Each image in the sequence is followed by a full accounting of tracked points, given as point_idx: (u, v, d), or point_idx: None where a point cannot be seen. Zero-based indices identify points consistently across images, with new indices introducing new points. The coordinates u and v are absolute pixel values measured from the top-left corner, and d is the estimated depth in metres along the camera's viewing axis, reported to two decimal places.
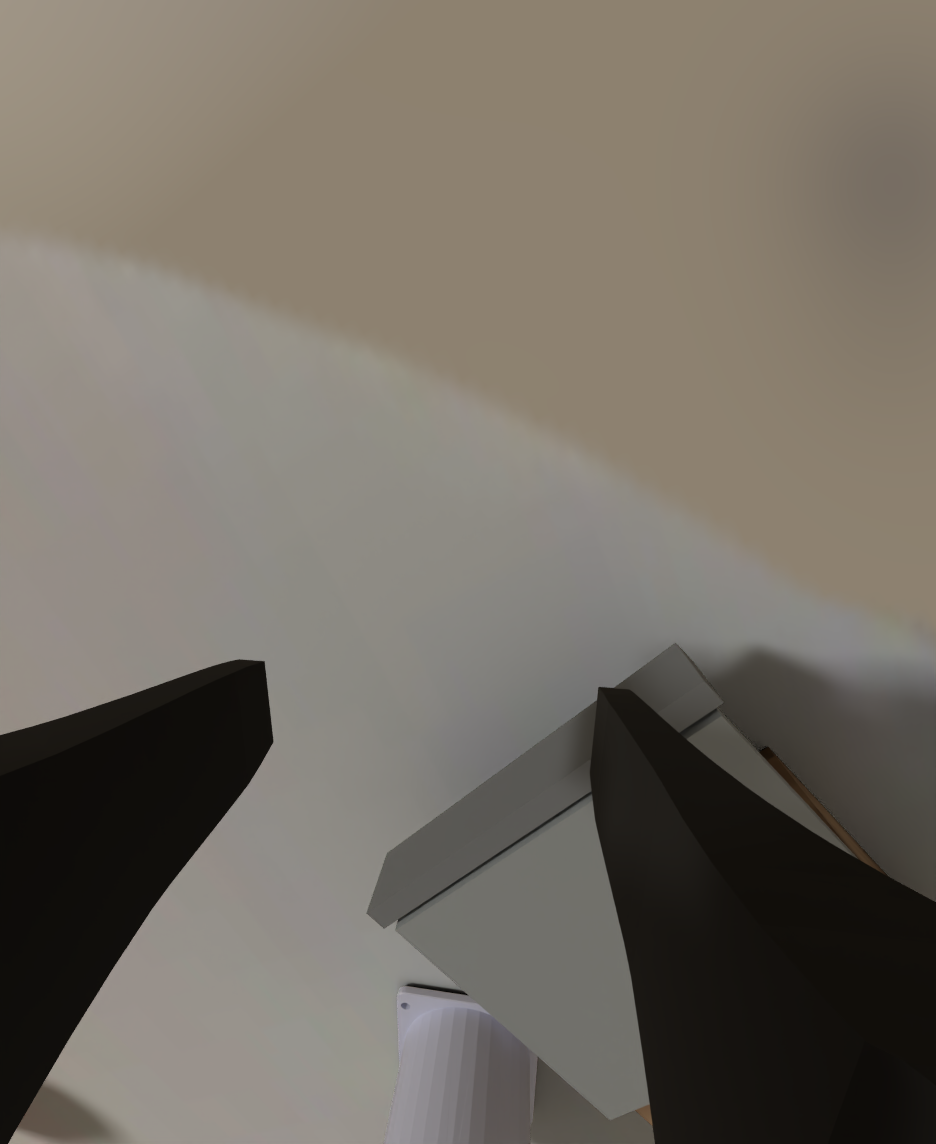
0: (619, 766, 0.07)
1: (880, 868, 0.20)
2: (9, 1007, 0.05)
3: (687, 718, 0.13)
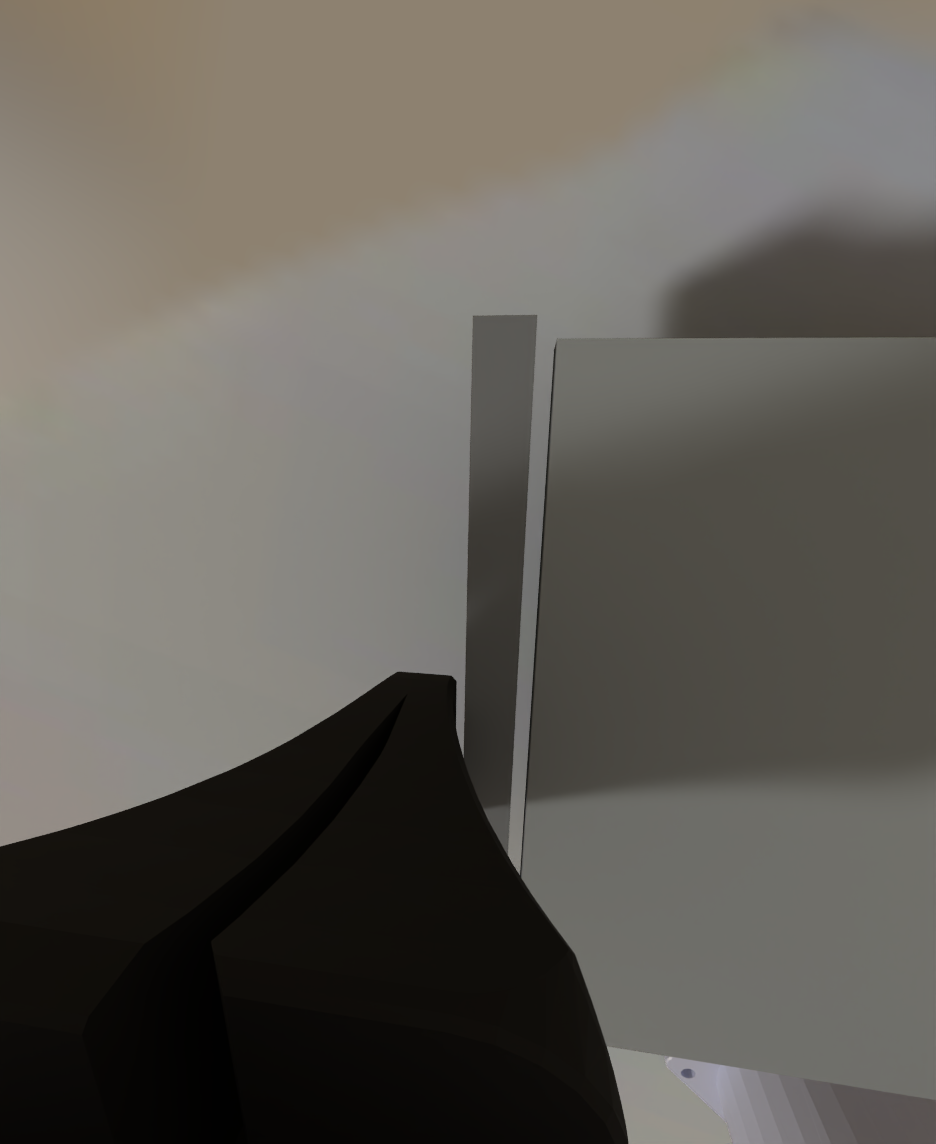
0: None
1: None
2: None
3: (517, 397, 0.07)
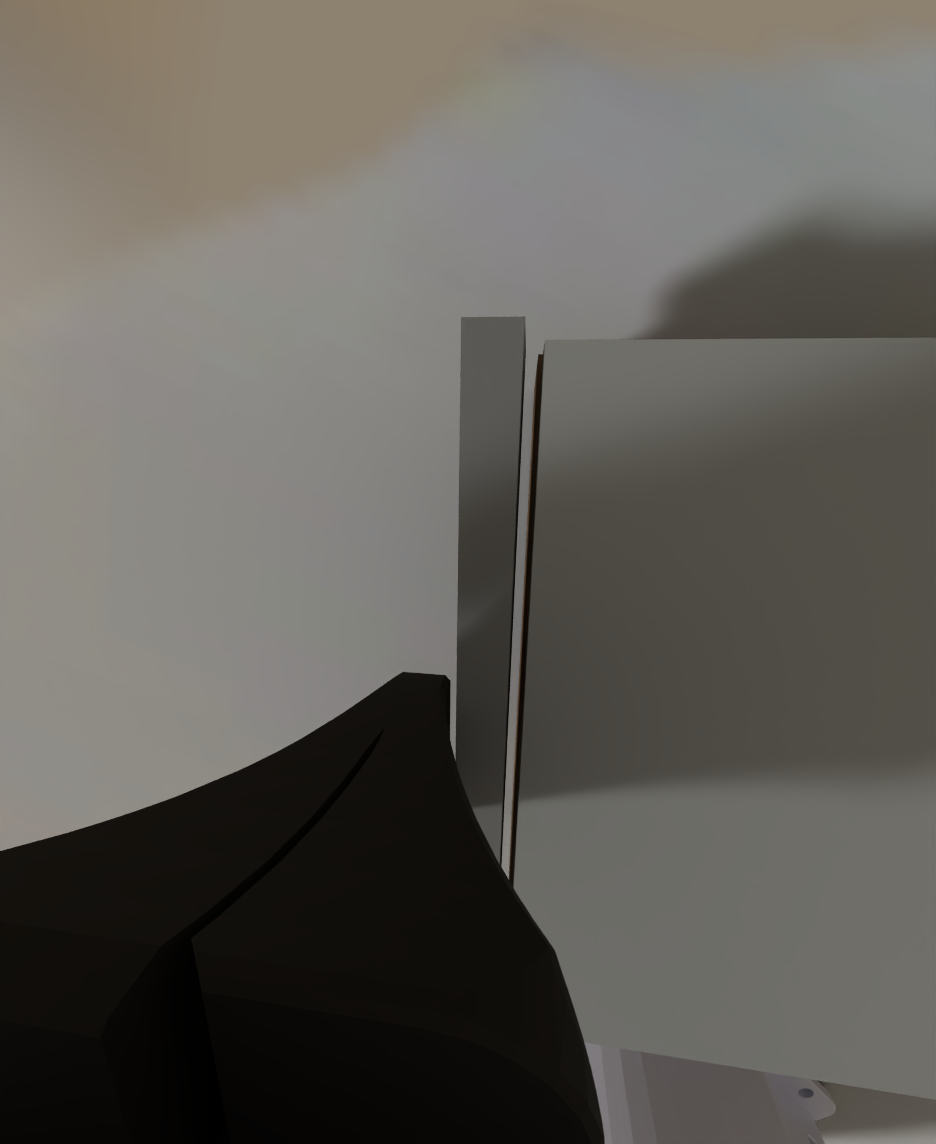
0: None
1: None
2: None
3: (506, 398, 0.07)
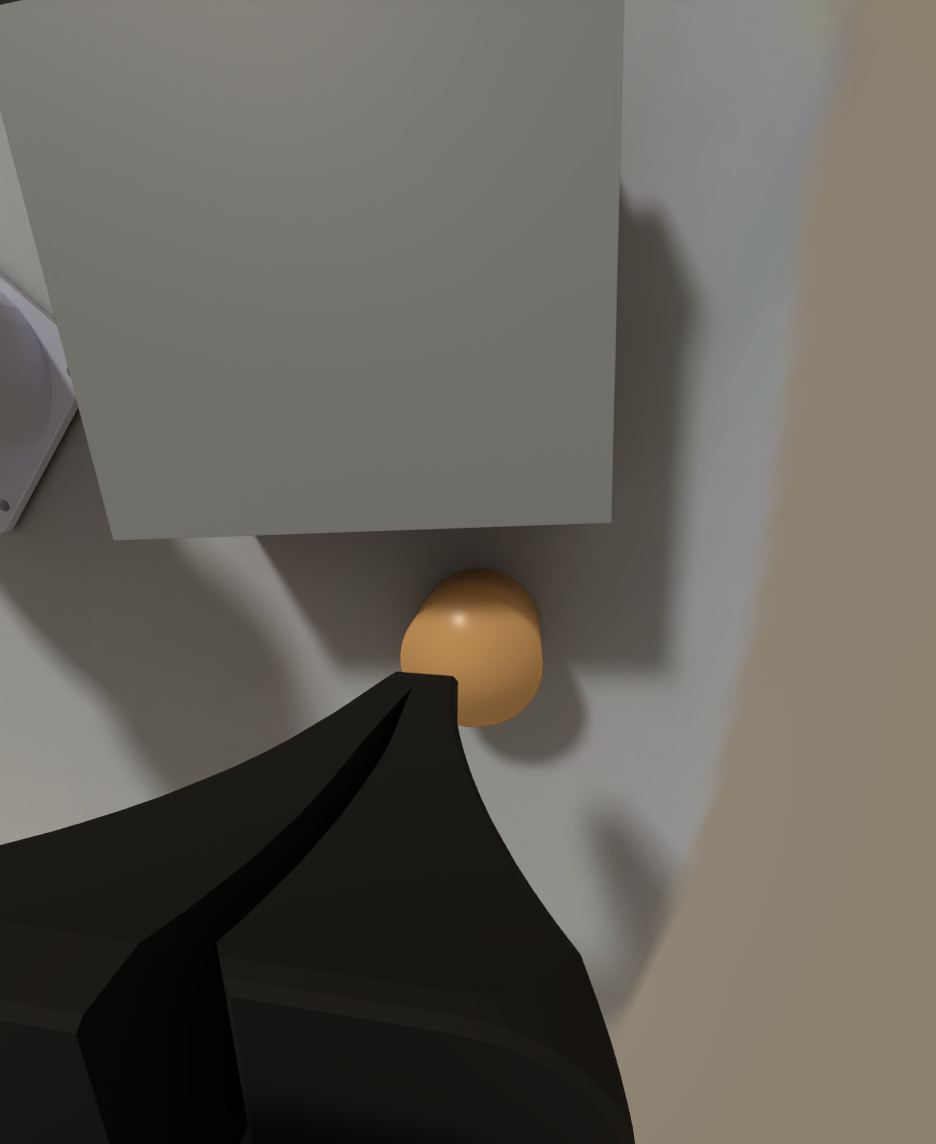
0: None
1: None
2: None
3: None
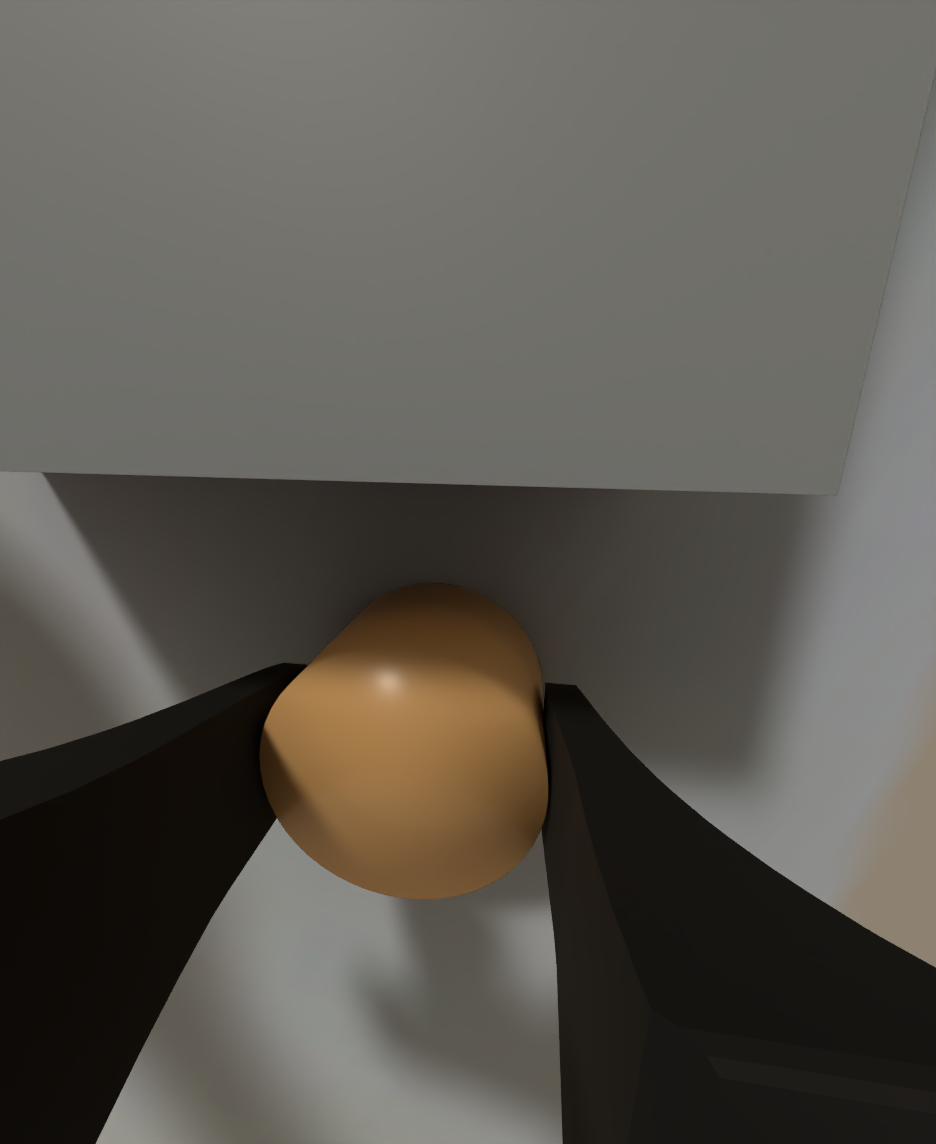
0: (553, 760, 0.08)
1: None
2: (89, 1021, 0.05)
3: None
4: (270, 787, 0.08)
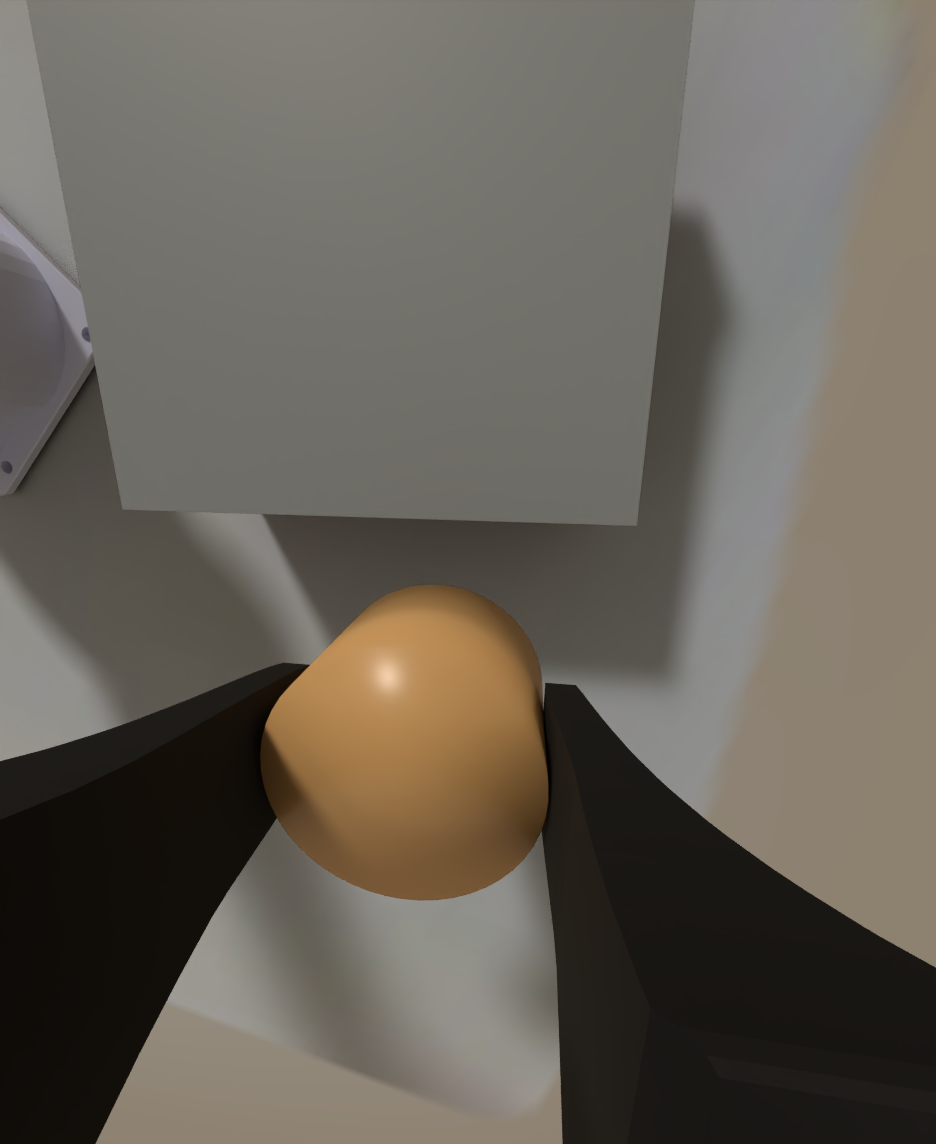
0: (553, 760, 0.08)
1: None
2: (89, 1021, 0.05)
3: None
4: (271, 789, 0.08)
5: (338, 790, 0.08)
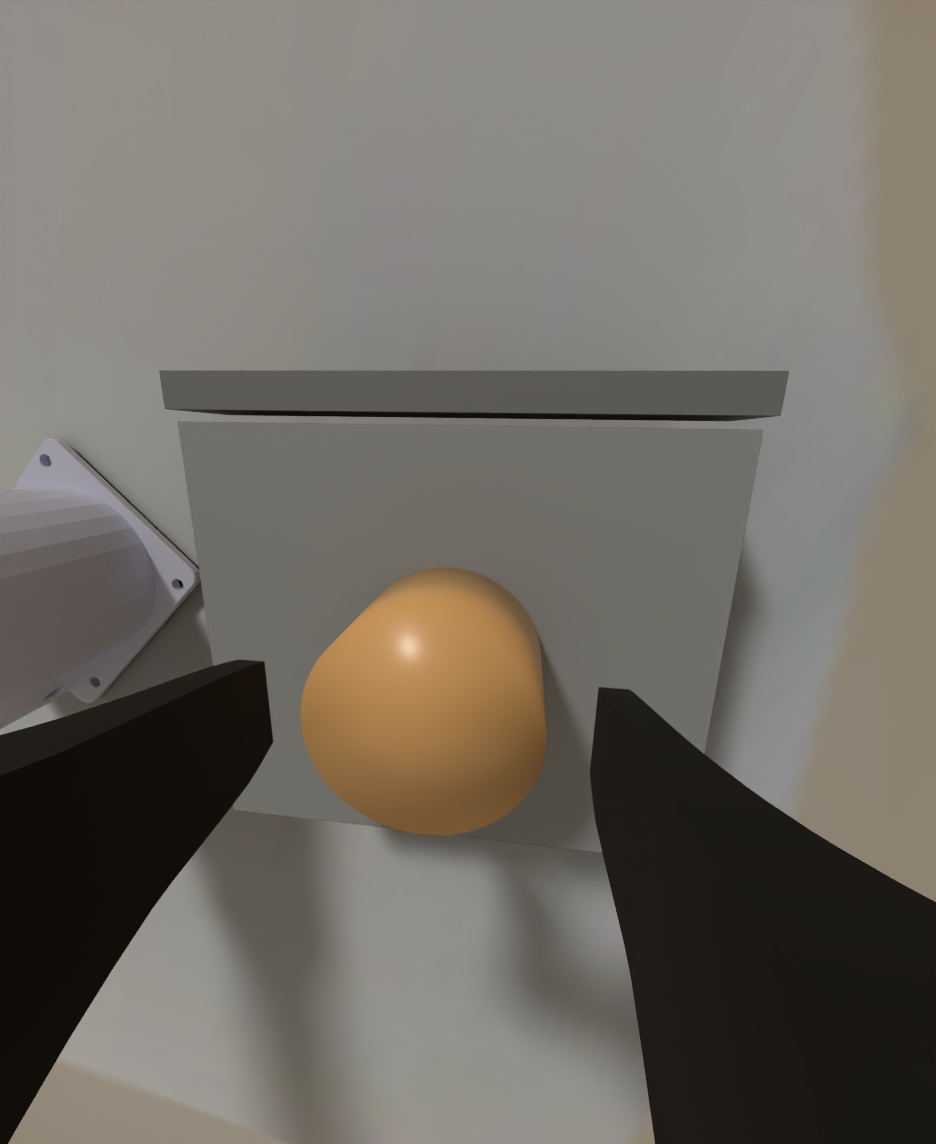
0: (619, 766, 0.07)
1: None
2: (9, 1007, 0.05)
3: (729, 404, 0.10)
4: (309, 740, 0.10)
5: (367, 739, 0.09)
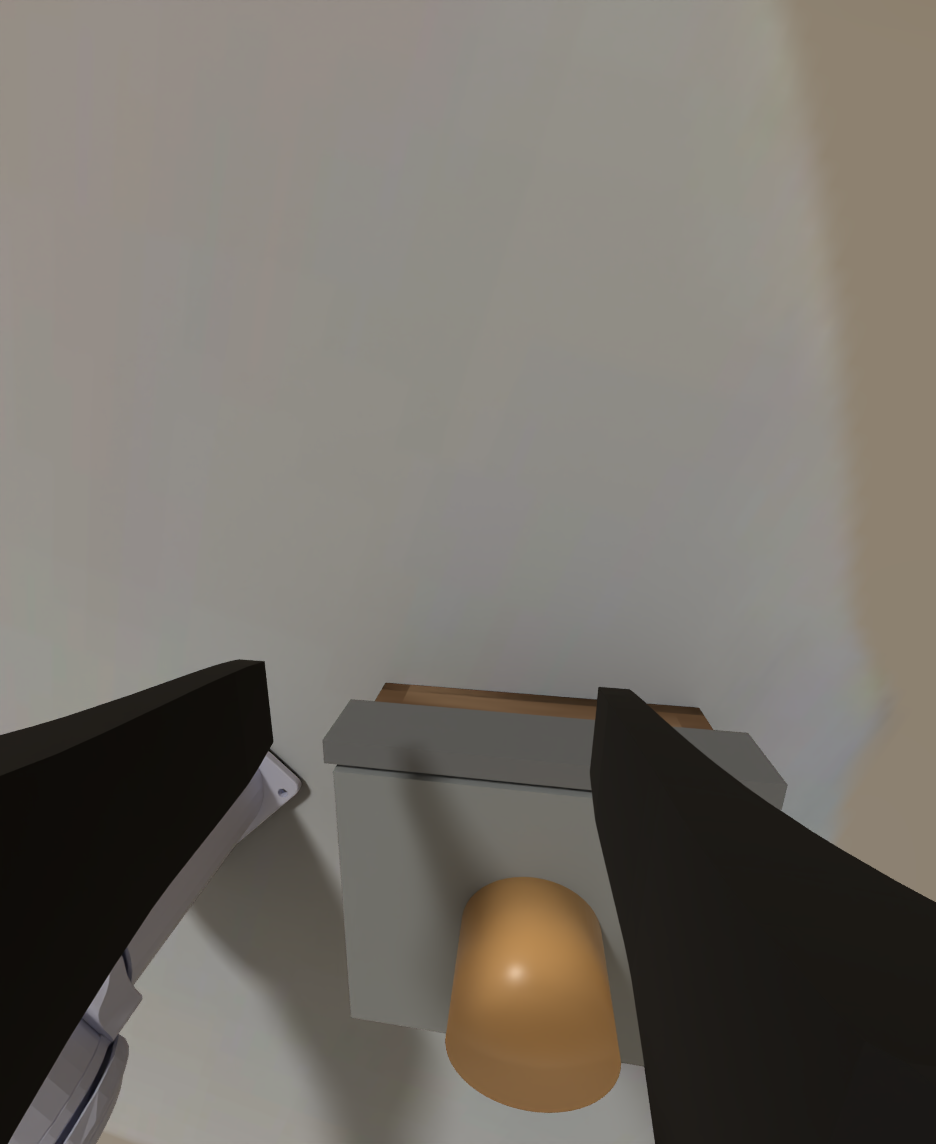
0: (619, 766, 0.07)
1: None
2: (9, 1007, 0.05)
3: None
4: (450, 1050, 0.14)
5: (492, 1054, 0.14)
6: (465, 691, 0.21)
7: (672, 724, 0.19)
